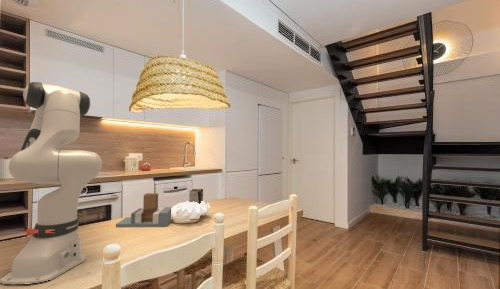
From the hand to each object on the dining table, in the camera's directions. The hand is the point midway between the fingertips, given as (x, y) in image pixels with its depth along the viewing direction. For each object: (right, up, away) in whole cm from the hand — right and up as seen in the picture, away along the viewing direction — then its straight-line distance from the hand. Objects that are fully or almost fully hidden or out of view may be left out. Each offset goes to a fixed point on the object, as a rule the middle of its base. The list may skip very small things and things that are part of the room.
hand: (90, 175), depth 126 cm
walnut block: (+28, -25, +6) cm, 38 cm away
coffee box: (+50, -27, +19) cm, 60 cm away
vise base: (+25, -26, +6) cm, 37 cm away
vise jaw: (+22, -25, +6) cm, 34 cm away
